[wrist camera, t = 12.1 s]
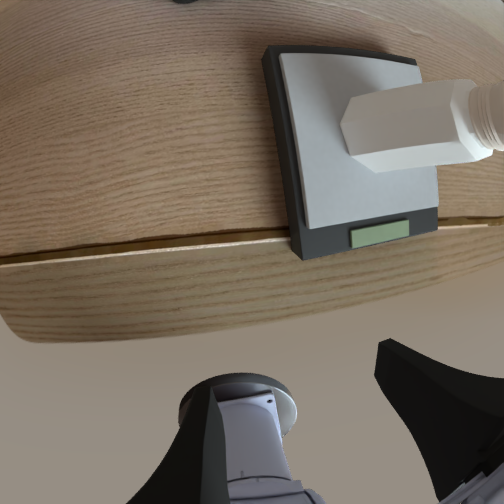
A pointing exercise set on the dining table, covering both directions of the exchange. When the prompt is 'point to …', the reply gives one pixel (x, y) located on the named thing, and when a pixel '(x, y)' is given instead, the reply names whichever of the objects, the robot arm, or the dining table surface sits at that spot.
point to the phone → (184, 1)
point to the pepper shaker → (425, 124)
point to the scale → (340, 152)
